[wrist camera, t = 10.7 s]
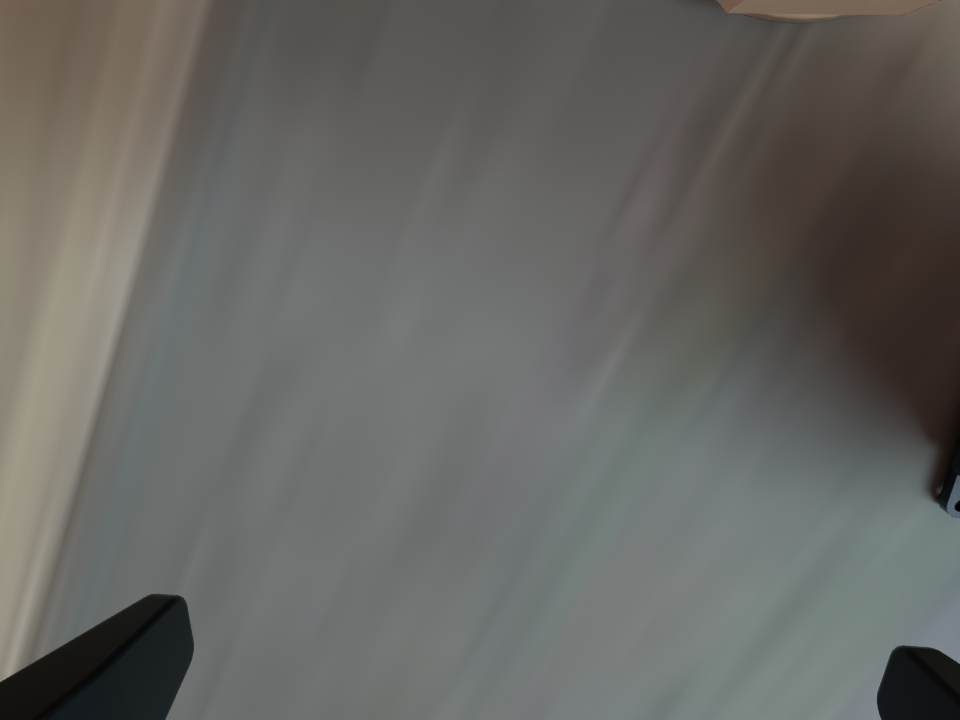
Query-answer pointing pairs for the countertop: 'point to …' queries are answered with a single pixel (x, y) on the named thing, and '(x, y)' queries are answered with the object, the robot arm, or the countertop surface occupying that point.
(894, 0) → the bowl
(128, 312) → the countertop surface
